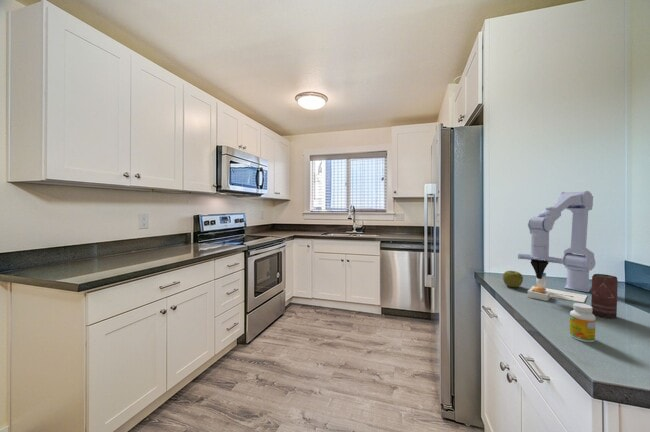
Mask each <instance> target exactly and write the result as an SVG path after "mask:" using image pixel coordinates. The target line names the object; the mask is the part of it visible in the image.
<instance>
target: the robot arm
mask: <svg viewBox="0 0 650 432" xmlns="http://www.w3.org/2000/svg"><path fill="white" fill-rule="evenodd" d="M593 204H594V196H593V194H592V192H591V191H589V190H585V191H561V192H560V193H559V194H558V196H557V200H556V202H555V203H554V204H553V205H552V206H547V207H545V208H544V210H543V211H541V213H539V214H538V215H537V216H533V217H531V218H530V219H529V220H528V223H527V227H528V229H529V233H530V235H531V238H530V242H531V243H530V245H531V246H530V253H529V254H528V253H527V254H526V253H525V254H524V253H518V254H517V259H518V260H529V261H530V264H531V266H532V268H533V270H534V273H535V278H536V277H537V279H542V275H543V272H544V273H545V270H546V268H547V266H548V265H549V263H552V264H554V263H555V264H559V265H563V266H564V267H565V268H566V284H565V285H564V287H563V288H564V289H568V290H573V291H579V292H585V293H590V291H591V290H592V286H591V285H590V271H592V270H594V269H595V267H596V259H595V252H592V250H590V249H588V248H587V238H588V237H587V236H588V223H589V222H588V221H589V211H592V210H593V206H594V205H593ZM564 210H569V211H570V212H571V213H572V219H571V220H572V221H571V236H570V247H567V248H566V249H564V250H563V254H562V257H561V258H560V257H554V256H550V231H552V230H553V228H554V225H555V222H556V221H557V220H559V218H561V216H562V212H563V211H564Z"/></svg>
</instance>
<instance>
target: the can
mask: <svg viewBox="0 0 650 432" xmlns="http://www.w3.org/2000/svg"><path fill="white" fill-rule="evenodd" d="M618 283H619V281H618V277H617V276H616V275H615V276H614V275H611V274H610V275H609V274H604V273H603V274H602V273H593V275H592V276H591V301H590V302H591V303H590V304H591V305H590V306H592V310H593V311H592V314H593V315H594V316H595V317H599V318H603V319H608V318H609V319H610V320H611V319H612V318H614V319H616V318H617V317H618V315H617V314H618V313H617V312H618V287H619V286H618ZM609 319H608V320H609ZM612 320H613V319H612Z"/></svg>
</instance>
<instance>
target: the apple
mask: <svg viewBox="0 0 650 432" xmlns="http://www.w3.org/2000/svg"><path fill="white" fill-rule="evenodd" d="M523 277H524V276H523V274H522V273H520V272H518V271H516V270H506V271H505V272H504V273H503V275H502V279H503V282H504V284H505V286H507V287H509V288H519V287H520V286H521V285H523V281H524V278H523Z"/></svg>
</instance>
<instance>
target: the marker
mask: <svg viewBox="0 0 650 432" xmlns="http://www.w3.org/2000/svg"><path fill="white" fill-rule="evenodd" d="M546 277H547V272H545V271H544V272H543V275H542V279H537V277H536V276H535V278H536V286H539V287H543V288H545V290H546V288H547V285H546V284H547V283H546V281H547V280H546V279H547V278H546Z"/></svg>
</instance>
